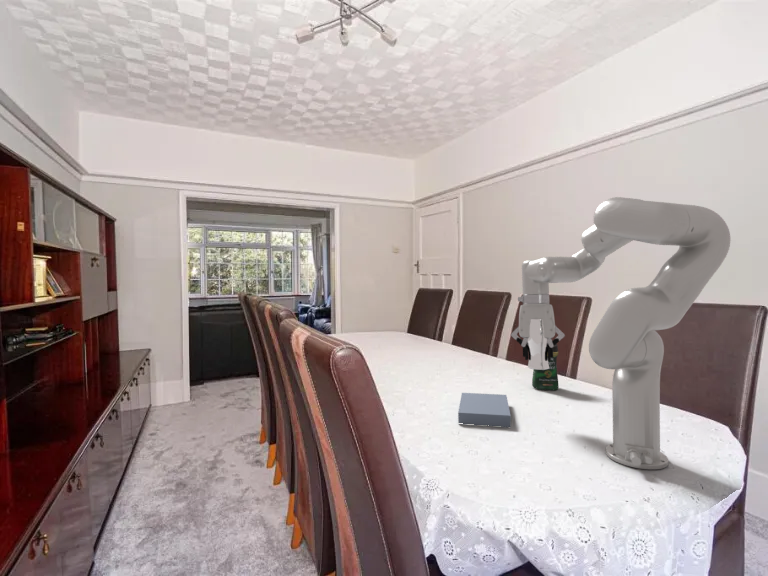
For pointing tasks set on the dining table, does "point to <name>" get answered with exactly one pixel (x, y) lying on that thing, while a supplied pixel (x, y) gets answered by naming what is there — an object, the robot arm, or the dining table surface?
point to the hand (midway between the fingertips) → (538, 359)
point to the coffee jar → (547, 374)
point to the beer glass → (537, 346)
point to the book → (484, 410)
